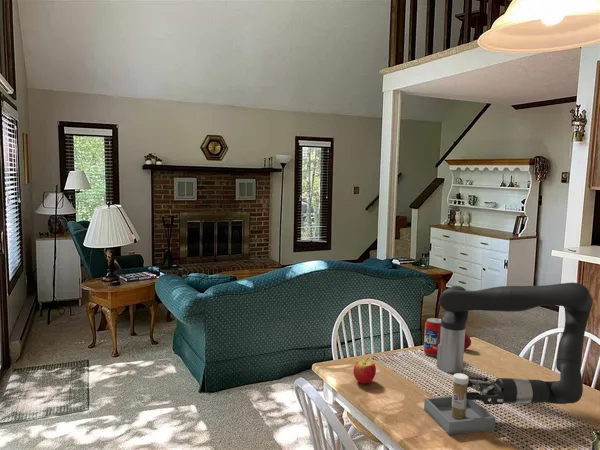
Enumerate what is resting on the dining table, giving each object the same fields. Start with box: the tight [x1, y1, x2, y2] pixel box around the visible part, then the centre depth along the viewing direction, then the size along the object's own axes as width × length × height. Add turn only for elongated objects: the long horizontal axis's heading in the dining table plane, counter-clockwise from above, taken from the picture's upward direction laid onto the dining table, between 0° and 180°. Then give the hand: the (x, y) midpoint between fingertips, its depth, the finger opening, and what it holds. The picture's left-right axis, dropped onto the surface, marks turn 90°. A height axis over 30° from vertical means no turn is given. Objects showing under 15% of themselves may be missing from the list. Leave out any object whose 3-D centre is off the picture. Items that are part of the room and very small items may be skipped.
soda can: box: [423, 317, 442, 357], centre depth 209 cm, size 8×8×15 cm
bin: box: [423, 395, 496, 436], centre depth 154 cm, size 16×16×4 cm
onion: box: [464, 331, 472, 351], centre depth 215 cm, size 6×6×8 cm
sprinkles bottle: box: [451, 372, 469, 419], centre depth 154 cm, size 5×5×13 cm
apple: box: [353, 357, 377, 384], centre depth 180 cm, size 8×8×10 cm
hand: (462, 389), depth 154 cm, fingers open, 8 cm apart
